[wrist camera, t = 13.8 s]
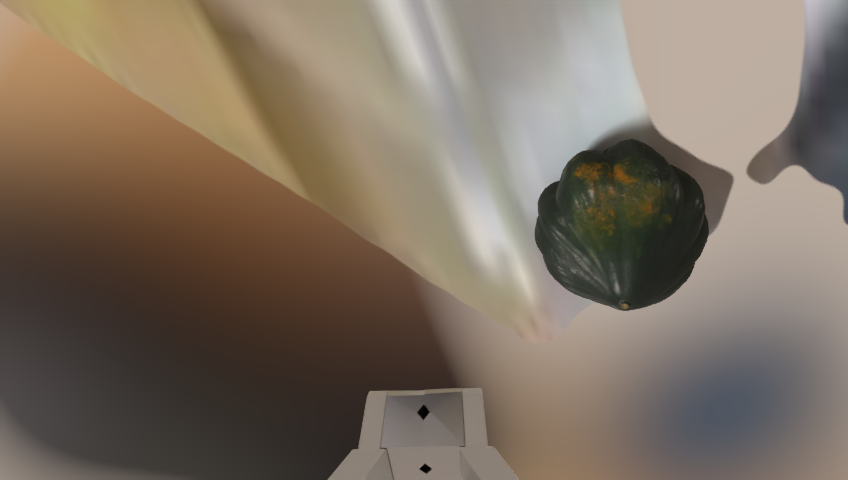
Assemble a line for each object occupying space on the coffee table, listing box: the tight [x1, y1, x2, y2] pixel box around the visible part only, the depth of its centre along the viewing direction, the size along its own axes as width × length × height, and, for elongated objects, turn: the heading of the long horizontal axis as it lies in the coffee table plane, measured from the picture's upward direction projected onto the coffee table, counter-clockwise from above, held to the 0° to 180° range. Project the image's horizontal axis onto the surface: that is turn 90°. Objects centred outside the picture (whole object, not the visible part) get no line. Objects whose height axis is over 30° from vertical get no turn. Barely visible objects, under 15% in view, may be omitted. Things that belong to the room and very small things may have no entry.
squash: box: [535, 139, 709, 311], centre depth 40 cm, size 14×15×15 cm
